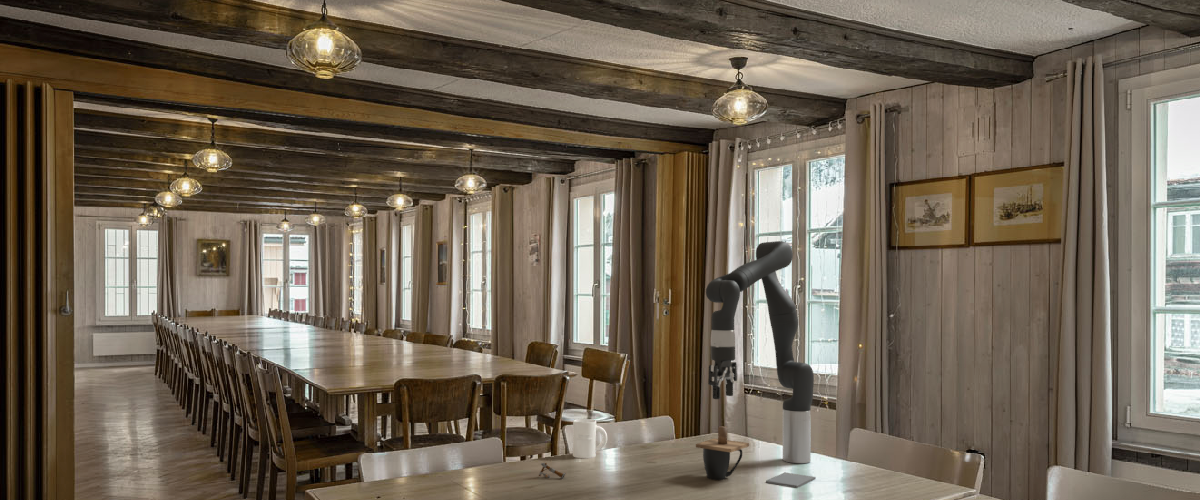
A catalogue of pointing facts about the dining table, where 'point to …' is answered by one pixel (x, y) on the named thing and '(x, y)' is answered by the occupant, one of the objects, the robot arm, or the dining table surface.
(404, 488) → the dining table surface
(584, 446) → the mug
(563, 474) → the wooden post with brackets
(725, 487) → the dining table surface
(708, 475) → the mug
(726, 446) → the lid
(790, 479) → the mat
